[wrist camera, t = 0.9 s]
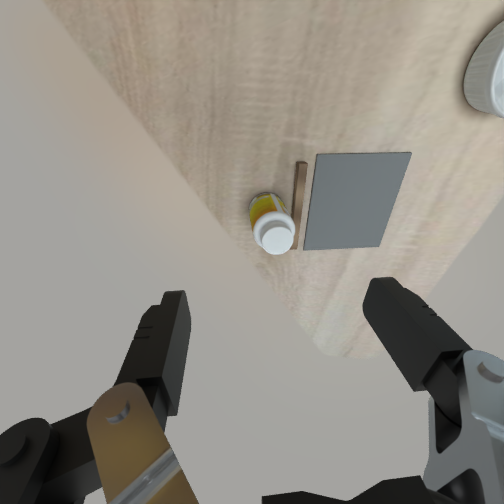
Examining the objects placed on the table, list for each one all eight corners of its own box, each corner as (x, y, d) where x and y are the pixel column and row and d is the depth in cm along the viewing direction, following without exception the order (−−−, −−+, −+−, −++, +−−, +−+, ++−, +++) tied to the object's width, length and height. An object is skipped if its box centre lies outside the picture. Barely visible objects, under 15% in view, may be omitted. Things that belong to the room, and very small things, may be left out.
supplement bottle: (243, 218, 37) (248, 253, 29) (256, 186, 35) (265, 214, 26) (274, 228, 39) (287, 264, 30) (289, 198, 36) (308, 229, 28)
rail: (296, 161, 33) (299, 164, 32) (304, 161, 33) (307, 163, 32) (288, 245, 41) (290, 249, 40) (295, 244, 41) (297, 249, 40)
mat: (316, 154, 33) (317, 154, 32) (410, 152, 34) (412, 152, 33) (303, 249, 42) (303, 250, 41) (377, 245, 43) (379, 246, 42)
